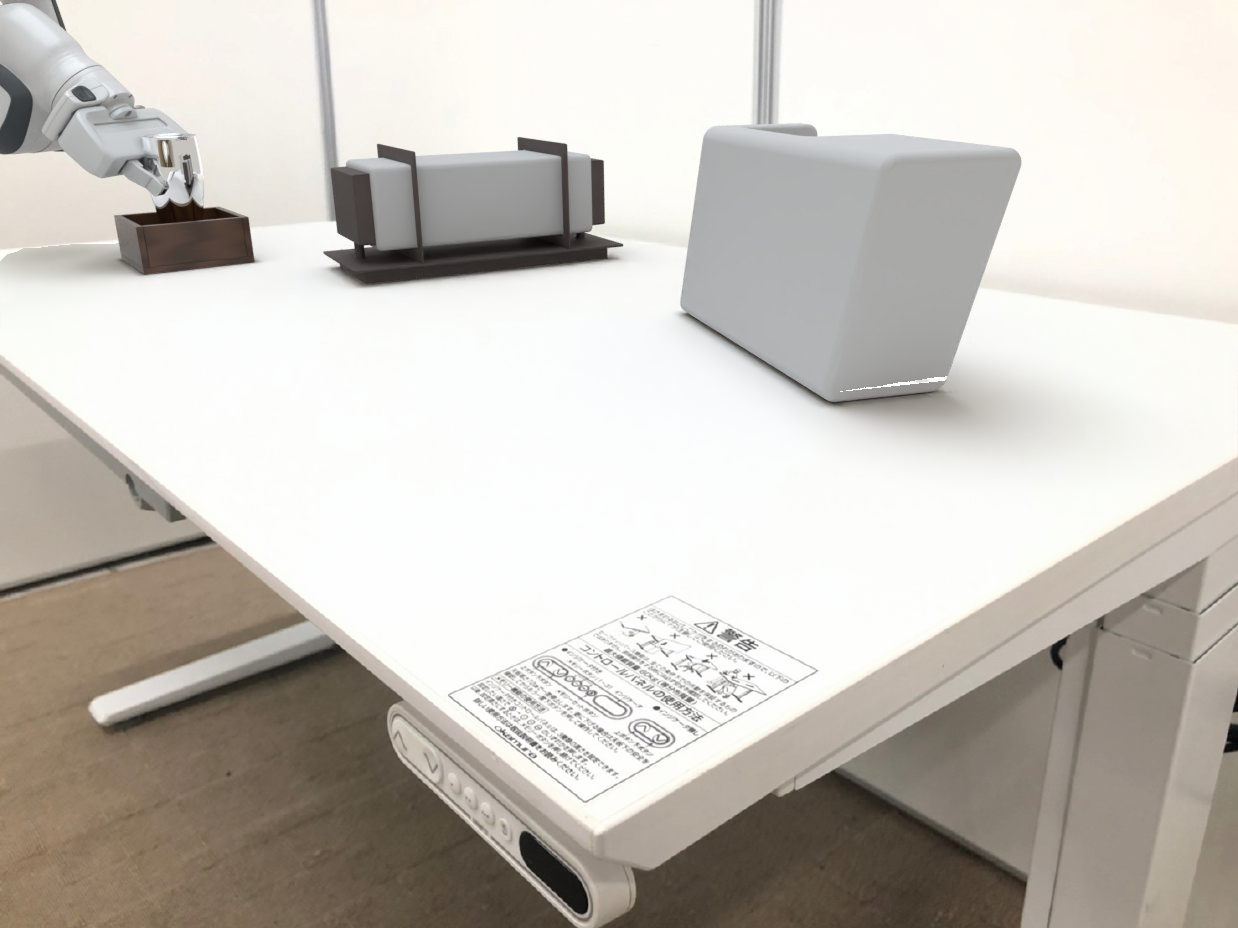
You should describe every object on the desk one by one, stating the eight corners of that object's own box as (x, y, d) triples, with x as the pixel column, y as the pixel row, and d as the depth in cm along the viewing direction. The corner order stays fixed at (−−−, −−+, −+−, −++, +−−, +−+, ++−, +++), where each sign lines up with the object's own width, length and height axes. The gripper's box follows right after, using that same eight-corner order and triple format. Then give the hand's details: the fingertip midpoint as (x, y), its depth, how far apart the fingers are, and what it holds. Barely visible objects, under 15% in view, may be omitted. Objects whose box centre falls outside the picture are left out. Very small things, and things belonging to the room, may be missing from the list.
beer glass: (171, 249, 142) (153, 133, 137) (222, 249, 142) (206, 133, 137) (148, 258, 136) (128, 137, 130) (202, 258, 136) (184, 137, 130)
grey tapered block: (909, 496, 87) (1030, 151, 68) (794, 512, 85) (886, 158, 65) (771, 302, 109) (833, -1, 90) (677, 309, 107) (720, -1, 87)
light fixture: (622, 140, 130) (341, 155, 115) (624, 259, 135) (355, 288, 120) (570, 134, 143) (311, 146, 128) (573, 243, 148) (324, 267, 133)
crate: (144, 274, 130) (135, 227, 128) (121, 259, 141) (113, 215, 139) (254, 262, 137) (248, 216, 135) (225, 248, 148) (219, 206, 146)
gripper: (134, 123, 145) (211, 196, 146) (31, 133, 126) (120, 217, 128) (158, 88, 142) (235, 162, 144) (56, 93, 124) (147, 179, 125)
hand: (181, 188), depth 136 cm, fingers closed on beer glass, 7 cm apart
